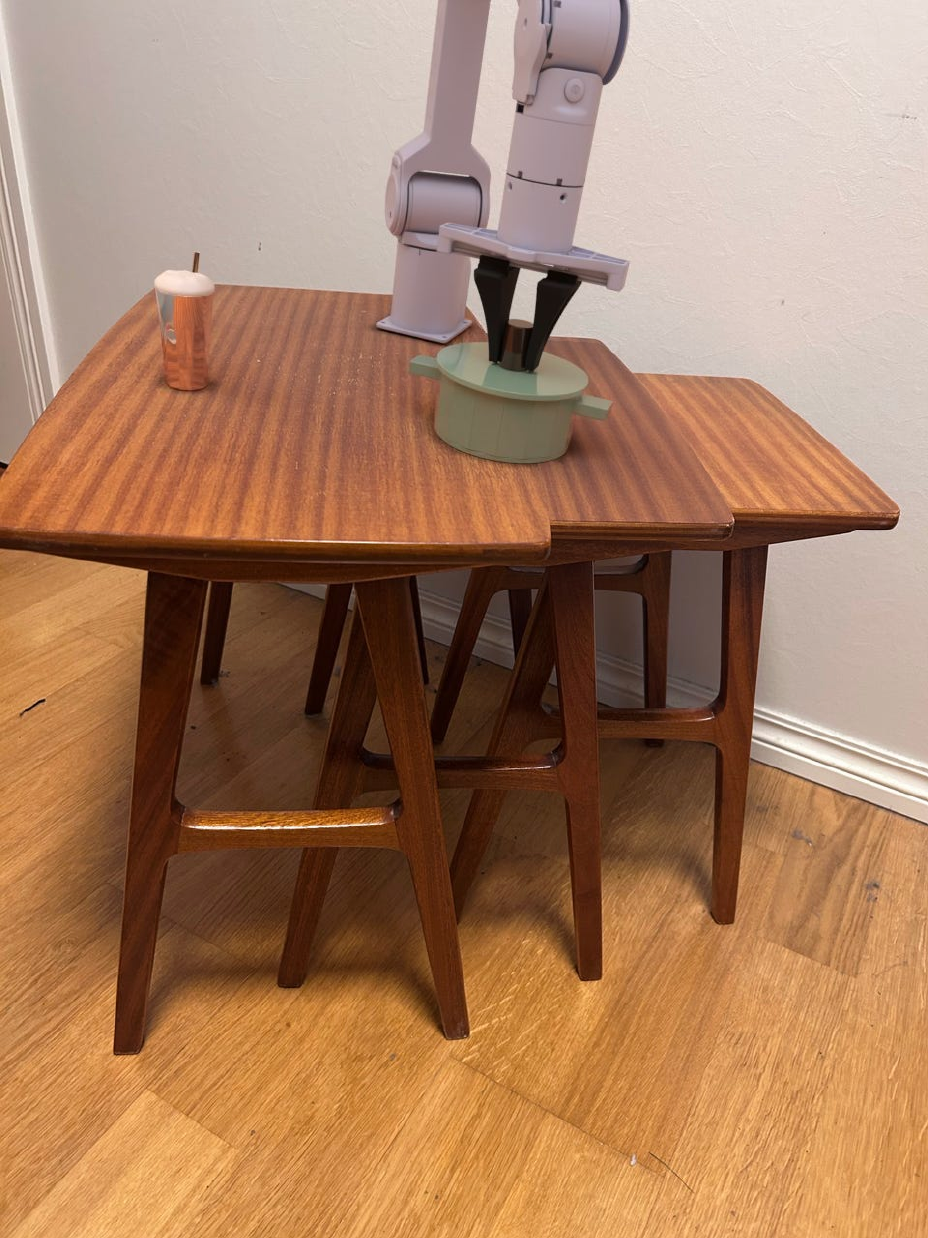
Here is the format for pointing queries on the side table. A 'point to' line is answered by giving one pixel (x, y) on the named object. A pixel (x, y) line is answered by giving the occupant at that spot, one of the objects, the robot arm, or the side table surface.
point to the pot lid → (512, 368)
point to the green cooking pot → (504, 420)
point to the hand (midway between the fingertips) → (513, 363)
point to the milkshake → (185, 325)
